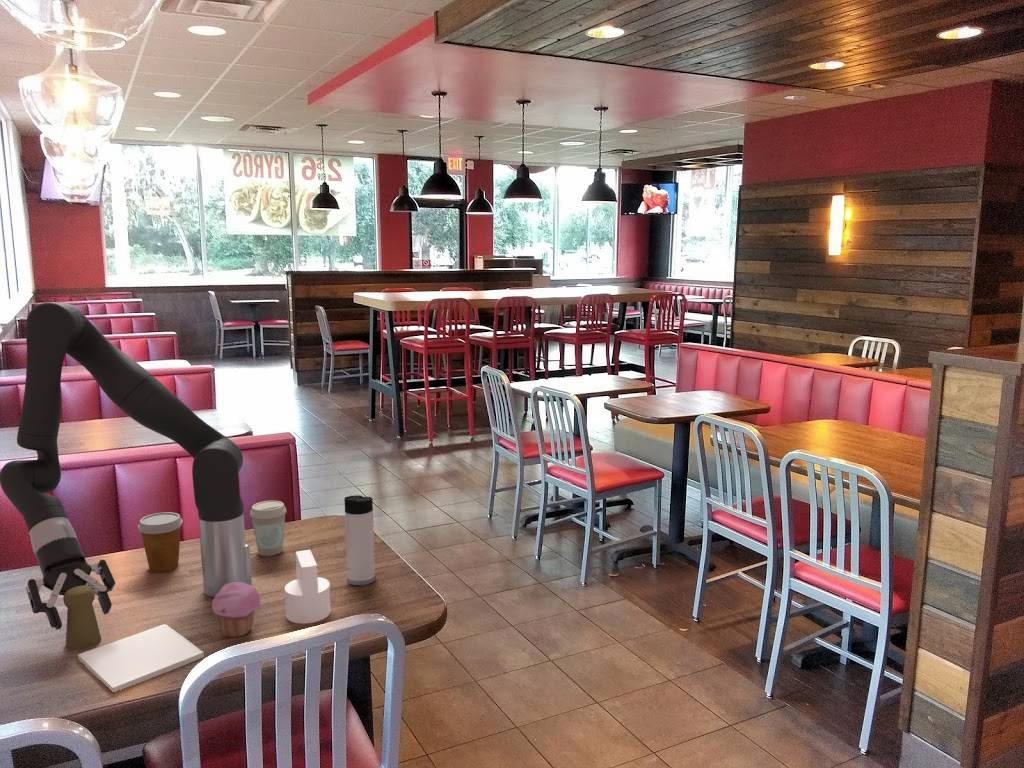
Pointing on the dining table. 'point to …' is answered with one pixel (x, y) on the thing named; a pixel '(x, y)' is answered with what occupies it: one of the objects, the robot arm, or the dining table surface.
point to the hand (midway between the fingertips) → (83, 619)
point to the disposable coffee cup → (161, 540)
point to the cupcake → (236, 608)
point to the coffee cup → (268, 526)
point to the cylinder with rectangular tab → (307, 592)
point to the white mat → (140, 657)
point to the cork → (81, 618)
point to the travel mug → (359, 540)
